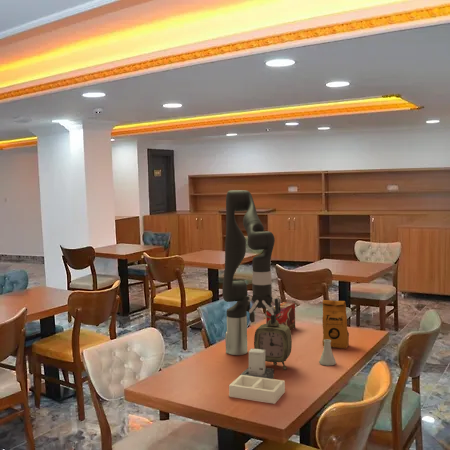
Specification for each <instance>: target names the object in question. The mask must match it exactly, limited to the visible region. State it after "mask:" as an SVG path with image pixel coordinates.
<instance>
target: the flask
mask: <svg viewBox="0 0 450 450" xmlns="http://www.w3.org/2000/svg"><path fill="white" fill-rule="evenodd" d="M330 343H331V340H328V339H326V340H324V346H323V349H322V350H323V351H322V352H321V356H320V358H319V360H318V363H319V364H320V365H322V366H327V367H328V366H335V365H336V364H337V361H336V358H335V355H334V353H333V350H332V347H331V344H330Z"/></svg>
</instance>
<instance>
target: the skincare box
mask: <svg viewBox="0 0 450 450" xmlns="http://www.w3.org/2000/svg"><path fill="white" fill-rule="evenodd" d="M248 367H249V375H257V376H263V375H264V374H265V368H266V361H265V350H262V349H254V348H250V349H249V350H248Z"/></svg>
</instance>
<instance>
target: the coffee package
mask: <svg viewBox="0 0 450 450" xmlns="http://www.w3.org/2000/svg"><path fill="white" fill-rule="evenodd" d="M321 319H322V334H323V335H322V347H324V340H326V339H328V340H331V343H330V344H331V348H334V349H342V350H343V349H345V350H346V349H347V348H348V347H349V345H350V344H349V342H350V341H349V339H350V337H349V336H350V333H349V330H348V315H347V304H346V301H345V300H329V299H327V300H326V299H322V318H321Z"/></svg>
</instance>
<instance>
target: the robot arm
mask: <svg viewBox="0 0 450 450" xmlns="http://www.w3.org/2000/svg"><path fill="white" fill-rule="evenodd" d="M235 212H245V214H244V216H243V218H242V223H243V224H242V225H243V227H244V229H245V232H246V234H247V240H246V237H245V235H244V233H243V231H242V230H241V229H240V226H239V224H238V223H237V221H236V217H235V216H236V215H235ZM225 217H226V218H225V219H226V224H225V225H226V227H225V228H226V229H225V230H226V231H225V241H224V242H225V244H224V253H225V254H224V273H223V279H222V280H223V281H222V288H221V291H222V292H221V295H222V299H223V300H224V302H226V303H233V302H236V303H235V304H234V305H232V306H230V307H229V308H227V310H226V312H225V313H226V332H225V333H224V334H225V338H224V339H225V354H229V355H232V356H243V355H246V354H248V321H247V320H248V319H247V318H248V317H247V315H248V314H247V312H248V313H249V322H250V323H254V322H255V321H256V320H255V317H256V315H255V311H256V309H263V310H264V309H265V310H268V311H269V312H270V313H271V314H272V315H271V324H272V325H273V324H274V323H275V322H276V314H278V313H280V312H281V309H280V304H281V299H280V297H275V298H274V297H273V294H272V293H273V289H272V288H273V287H272V286H273V284H272V280H273V279H272V272H271V267H272V266H271V265H272V264H271V261H272V260H271V258H272V254H273V249H274V247H275V242H276V241H275V239H276V238H275V236H274V234H273V232H271V231H269V230H267V231H265V229H264V225H263V223H262V221H261V219H260V218H259V215H258V212H257V209H256V205H255V202H254V198H253V195H252V193H251V191H249V190H246V189H245V190H243V189H241V190H238V189H237V190H235V189H234V190H233V189H232V190H228V191H227V193H226V196H225ZM246 246H247V247H248V248H249V249H250V250H252V251H259V250H263V251H262V253H261V254H258V255H254V256H253V258H252V278H251V281H252V282H251V283H252V296H251V295H249V294H248V286H247V283H246V281H245V280H234V277H235V273H236V271H237V270H238V267H239V266H240V265H241V264H242V262H243V260H244V258H245V256H246V251H247V249H246V248H247V247H246ZM251 301H252V302H253V304H252V306H251ZM272 302H273V304H274V306H275V309H274V306H273V304H272Z"/></svg>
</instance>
